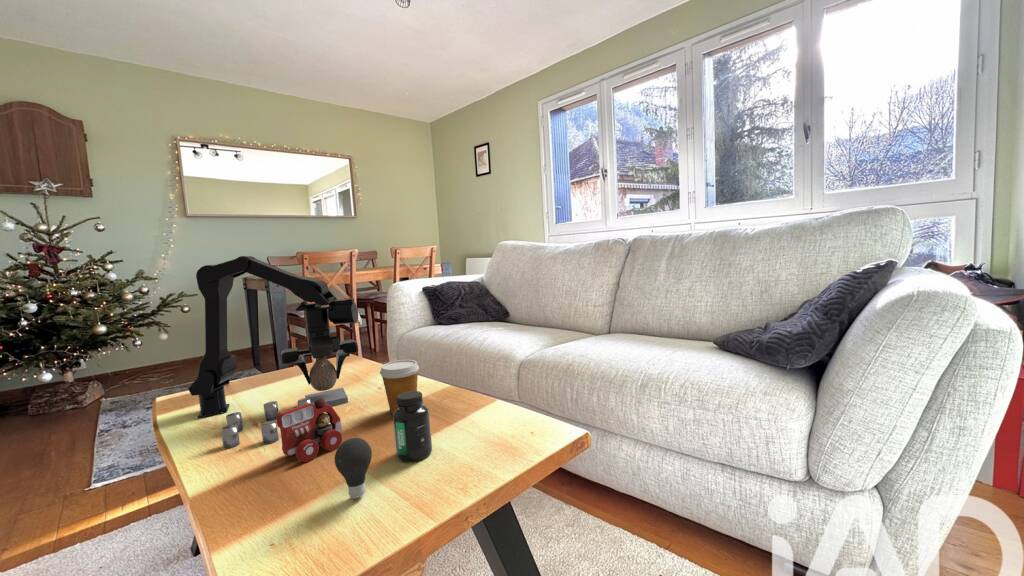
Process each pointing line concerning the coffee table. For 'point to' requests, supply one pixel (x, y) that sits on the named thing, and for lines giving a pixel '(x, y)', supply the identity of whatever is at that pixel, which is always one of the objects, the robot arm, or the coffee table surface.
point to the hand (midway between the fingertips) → (323, 381)
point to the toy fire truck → (309, 430)
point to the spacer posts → (267, 428)
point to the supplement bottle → (412, 427)
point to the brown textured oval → (323, 374)
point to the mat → (330, 397)
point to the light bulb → (354, 464)
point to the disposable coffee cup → (399, 379)
